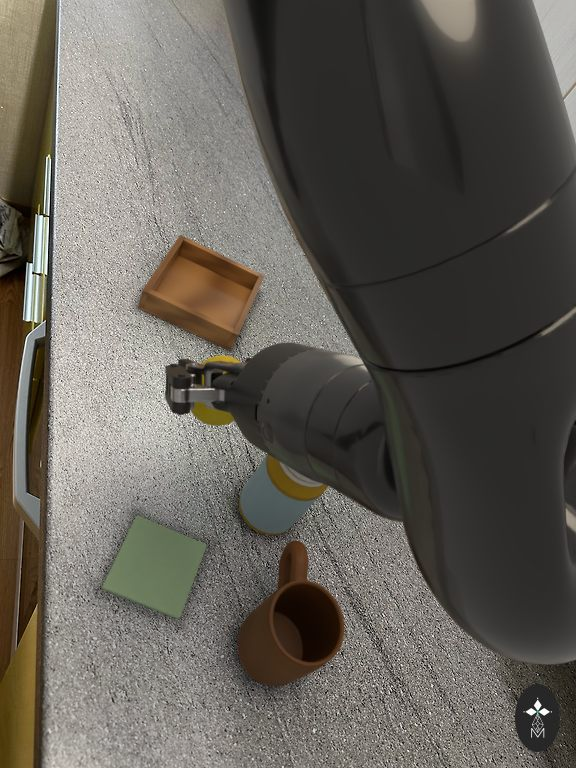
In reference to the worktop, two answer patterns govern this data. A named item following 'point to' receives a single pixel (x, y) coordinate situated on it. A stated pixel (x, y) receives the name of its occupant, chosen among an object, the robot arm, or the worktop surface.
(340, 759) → the worktop surface
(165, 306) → the crate
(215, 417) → the fruit
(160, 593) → the mat
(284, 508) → the bottle
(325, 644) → the mug
